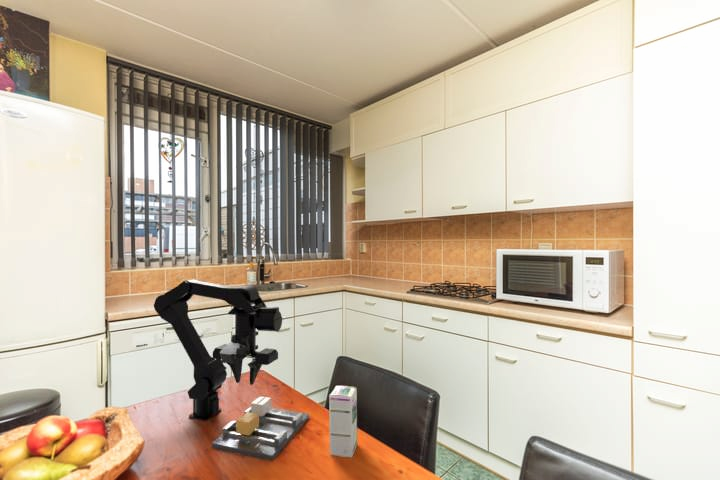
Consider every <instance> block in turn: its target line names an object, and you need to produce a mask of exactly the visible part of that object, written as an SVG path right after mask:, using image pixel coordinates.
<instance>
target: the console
mask: <svg viewBox="0 0 720 480" xmlns="http://www.w3.org/2000/svg"><path fill="white" fill-rule="evenodd" d="M247 412H250V413H251V406H250V407H248V408H247V409H246V410H245V411H243V415H244V414H245V413H247ZM309 419H310V413H307V412H306V413H305V412H299V411H293V410H287V409H281V408H277V407H276V408H274V407H271V409H270V410H269V411H268V412H267V413H266V414H265V417H264V416H259V427H258V428H256V429H255V430H254V431H253V432H252V435H249V436H248V435H243V434H238V433H236V428H237V420H232V421H230V422H229V423H227V424H226V425H225V426H224V427H222V434H221V435H220V436H218V437H217V438H216V439H215V440H214V441H212V442H211V449H216V450H220V451H224V452H230V453H233V454H238V455H241V456H248V457H253V458H257V459H262V460H266V461H270V462H272V461H273V460H274V459H276V457H277V456H278V455H279V454H280V452H281V451H282V450H283V449H284V448H285V446H286V445H288V443H289V442H290V441H291V439H293V437H294V436H295V435H296V434H297V433H298V432H299V430H300V429H301V428H302V427H303V426H304V425H305V424H306V422H308V420H309Z"/></svg>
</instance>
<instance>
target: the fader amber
mask: <svg viewBox="0 0 720 480" xmlns="http://www.w3.org/2000/svg"><path fill="white" fill-rule="evenodd" d="M236 423H237V428H236V433H238V434H243V435H248V436H249V435H252V432H253V431H254V430H255V429H256V428H258V427H259V414H255V413H250V412H247V413H245V414H244V413H243V415H242V416H240V417H239V418H237V419H236Z"/></svg>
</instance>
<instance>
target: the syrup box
mask: <svg viewBox="0 0 720 480" xmlns="http://www.w3.org/2000/svg"><path fill="white" fill-rule="evenodd" d="M357 390H358V389H357V387H356V386H351V385H350V386H348V385H335V387H334V388H333V389H332V391H331V393H330V394H329V396H328V398H329V400H328V403H329V404H328V405H329V407H328V408H329V410H328V412H329V413H328V414H329V416H328V417H329V419H328V420H329V421H328V422H329V424H328V425H329V429H328V430H329V455H331V456H335V457H343V458H353V455H354V453H355V451H356V448H357V446H358V402H357V401H358V399H357V398H358V397H357V396H358V393H357V392H358V391H357Z"/></svg>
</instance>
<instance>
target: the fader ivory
mask: <svg viewBox="0 0 720 480" xmlns="http://www.w3.org/2000/svg"><path fill="white" fill-rule="evenodd" d="M250 407H251V413H255V414H259V416H264V417H265V414H266V413H267V412H268V411H269V410H270V409H271V408H272V398H271V397H267V396H259V397H257V398H256V399H254V400H253V401H252V402H251V403H250Z"/></svg>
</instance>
